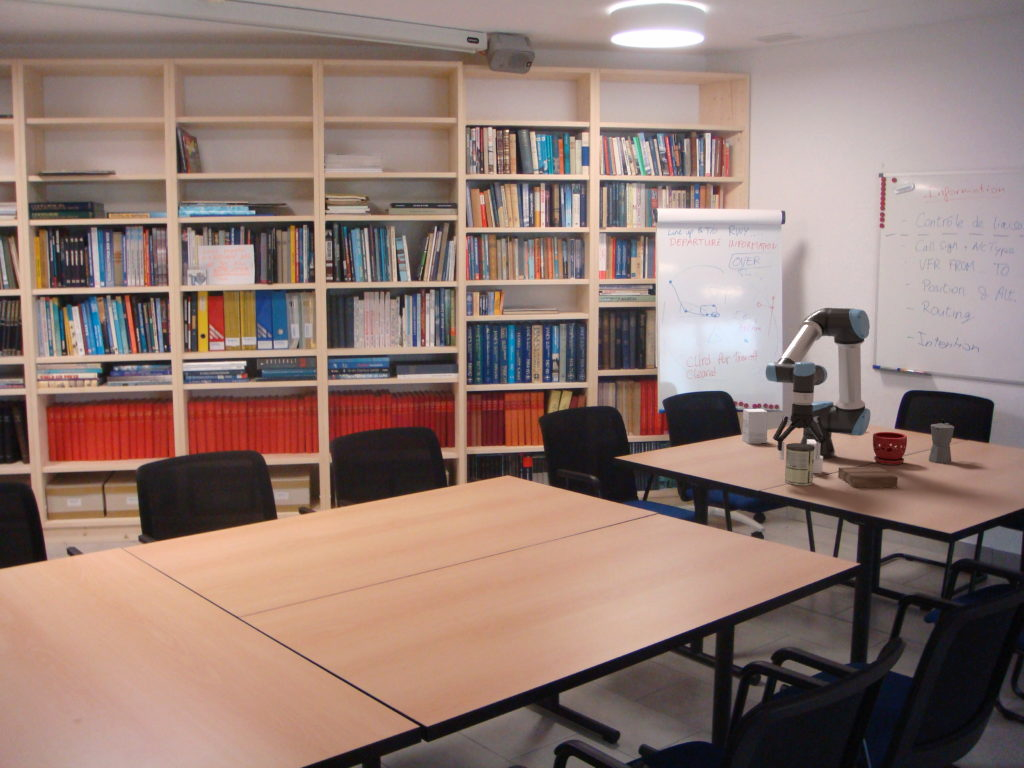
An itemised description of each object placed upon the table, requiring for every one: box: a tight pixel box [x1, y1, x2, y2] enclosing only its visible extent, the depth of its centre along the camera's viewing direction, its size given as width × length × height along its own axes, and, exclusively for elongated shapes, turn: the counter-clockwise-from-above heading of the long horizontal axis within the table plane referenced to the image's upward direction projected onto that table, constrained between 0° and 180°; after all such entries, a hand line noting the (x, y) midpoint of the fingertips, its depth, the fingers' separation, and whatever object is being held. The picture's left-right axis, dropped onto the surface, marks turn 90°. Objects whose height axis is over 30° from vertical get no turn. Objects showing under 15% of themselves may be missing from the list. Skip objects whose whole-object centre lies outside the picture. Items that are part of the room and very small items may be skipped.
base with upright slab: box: [807, 439, 824, 474], centre depth 370 cm, size 9×9×12 cm
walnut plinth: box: [837, 466, 899, 488], centre depth 353 cm, size 16×16×4 cm
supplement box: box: [741, 408, 769, 445], centre depth 429 cm, size 9×9×15 cm
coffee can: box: [784, 442, 815, 486], centre depth 351 cm, size 10×10×14 cm
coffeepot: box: [928, 418, 955, 464], centre depth 391 cm, size 15×9×18 cm, turn 137°
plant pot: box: [872, 431, 908, 466], centre depth 387 cm, size 13×13×12 cm
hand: (799, 459), depth 351 cm, fingers open, 13 cm apart
